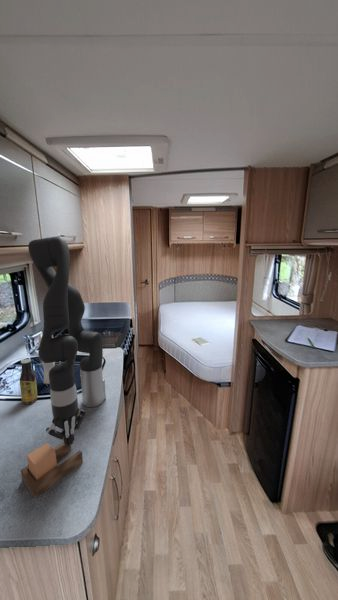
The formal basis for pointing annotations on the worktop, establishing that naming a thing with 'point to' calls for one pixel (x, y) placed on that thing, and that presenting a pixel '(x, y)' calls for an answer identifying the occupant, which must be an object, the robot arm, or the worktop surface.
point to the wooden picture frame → (52, 471)
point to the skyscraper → (46, 365)
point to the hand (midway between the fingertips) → (69, 443)
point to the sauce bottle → (28, 383)
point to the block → (41, 461)
